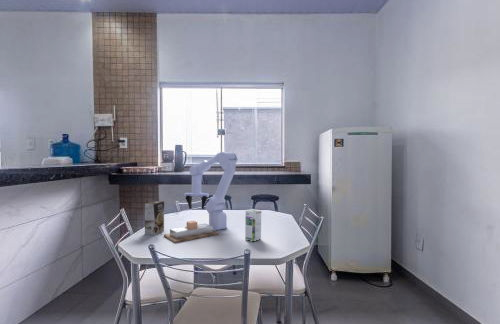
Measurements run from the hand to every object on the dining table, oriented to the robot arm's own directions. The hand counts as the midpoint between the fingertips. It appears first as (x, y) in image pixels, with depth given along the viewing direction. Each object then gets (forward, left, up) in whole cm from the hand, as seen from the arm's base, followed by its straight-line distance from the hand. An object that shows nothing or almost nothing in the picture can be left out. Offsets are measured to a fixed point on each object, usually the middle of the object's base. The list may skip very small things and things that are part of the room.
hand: (196, 208), depth 166 cm
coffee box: (+26, +3, -10) cm, 28 cm away
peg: (+13, +20, -8) cm, 26 cm away
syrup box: (-7, +45, -10) cm, 47 cm away
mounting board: (+13, +20, -9) cm, 26 cm away
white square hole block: (+13, +20, -9) cm, 26 cm away
